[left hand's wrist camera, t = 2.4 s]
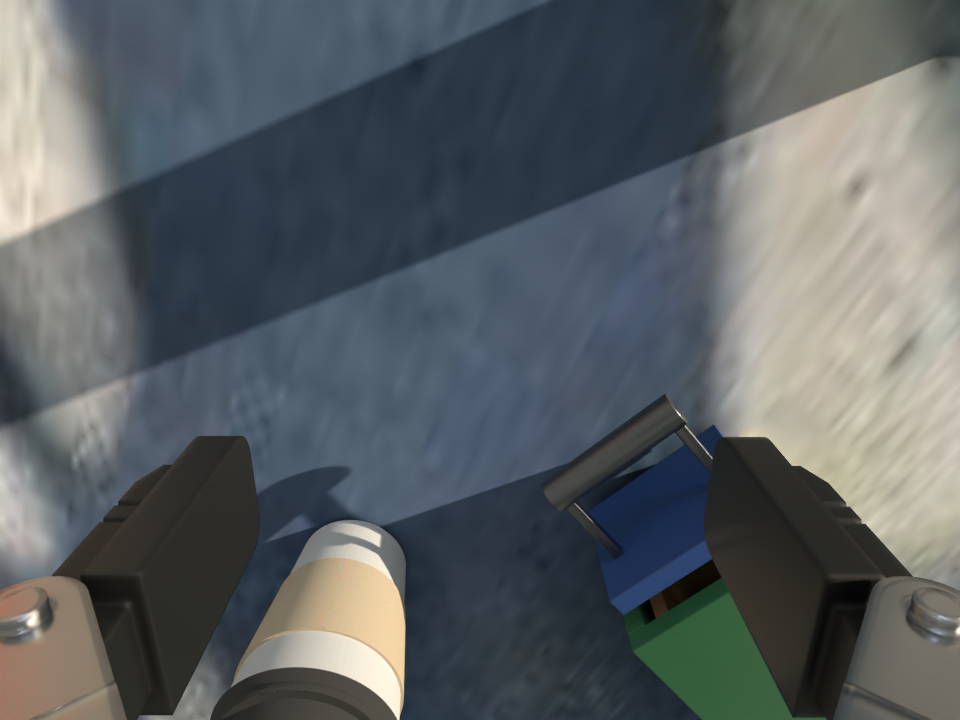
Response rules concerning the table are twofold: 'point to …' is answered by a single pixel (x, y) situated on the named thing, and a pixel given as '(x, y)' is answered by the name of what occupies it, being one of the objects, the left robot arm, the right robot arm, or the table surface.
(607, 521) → the drawer
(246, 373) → the table surface
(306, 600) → the coffee cup
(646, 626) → the green box
